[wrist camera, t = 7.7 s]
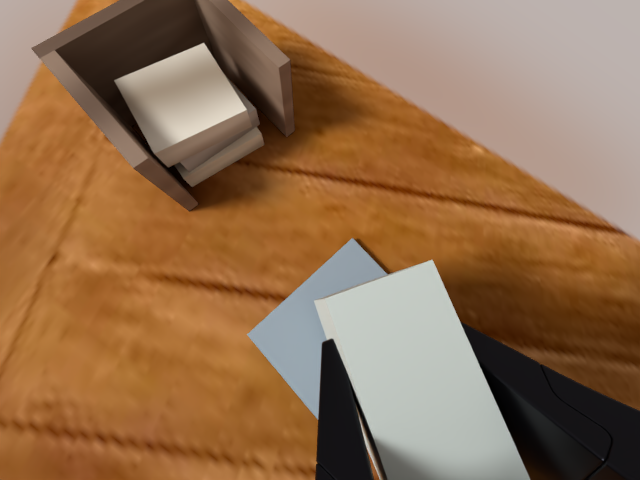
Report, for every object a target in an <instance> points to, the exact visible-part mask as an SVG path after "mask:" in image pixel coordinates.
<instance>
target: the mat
mask: <svg viewBox="0 0 640 480" xmlns="http://www.w3.org/2000/svg"><path fill="white" fill-rule="evenodd" d="M385 275H388V274H387V273H386V272H385V271H384V270H383V269H382V268H381V267H380V266H379V265H378V264H377V263H376V262H375V261H374V260H373V259H372V258H371V257H370V256H369V255H368V254H367V253H366V252H365V251H364V249H363V248H362V247H361V246H360V245H359V244H358V243H357V242H356V241H355V240H354V239H353V238H352V239H351V240H350V241H349V242H347V243H346V244H345V245H344V246H343V247H342V248H341V249H340V250H339V251H338V252H337V253H336V254H334V255H333V256H332V257H331V258H330V259H329V260H328V261H327V262H326V263H325V264H324V265H322V266H321V267H320V268H319V269H318V270H317V271H316V272H315V273H314V274H313V275H312V276H310V277H309V278H308V279H307V280H306V281H305V282H304V283H303V284H302V285H301V286H300V287H298V288H297V289H296V290H295V291H294V292H293V293H292V294H291V295H290V296H289V297H288V298H287V299H285V300H284V301H283V302H282V303H281V304H280V305H279V306H278V307H277V308H276V309H275V310H273V311H272V312H271V313H270V314H269V315H268V316H267V317H266V318H265V319H264V320H263V321H261V322H260V323H259V324H258V325H257V326H256V327H255V328H254V329H253V330H252V331H251V332H249V333H248V334H247V335H248V336H249V338H250V339H251V340H252V341H253V342H254V344H255V345H256V346H257V347H258V348H259V350H260V351H261V352H262V353H263V354H264V356H265V357H266V358H267V359H268V360H269V362H270V363H271V364H272V365H273V366H274V368H275V369H276V370H277V371H278V372H279V374H280V375H281V376H282V377H283V378H284V380H285V381H286V382H287V383H288V384H289V386H290V387H291V388H292V389H293V390H294V392H295V393H296V394H297V395H298V396H299V398H300V399H301V400H302V401H303V402H304V404H305V405H306V406H307V407H308V408H309V410H310V411H311V412H312V413H313V414H314V416H315V417H316V418H317V419H318V414H319V392H320V370H321V348H322V342H323V341H326V340H327V339H326V336H325V333H324V330H323V327H322V324H321V321H320V318H319V315H318V312H317V309H316V306H315V303H314V300H317V299H319V298H322V297H325V296H328V295H330V294H333V293H336V292H339V291H342V290H344V289H347V288H350V287H353V286H355V285H358V284H361V283H364V282H367V281H370V280H373V279H376V278H379V277H382V276H385Z"/></svg>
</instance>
